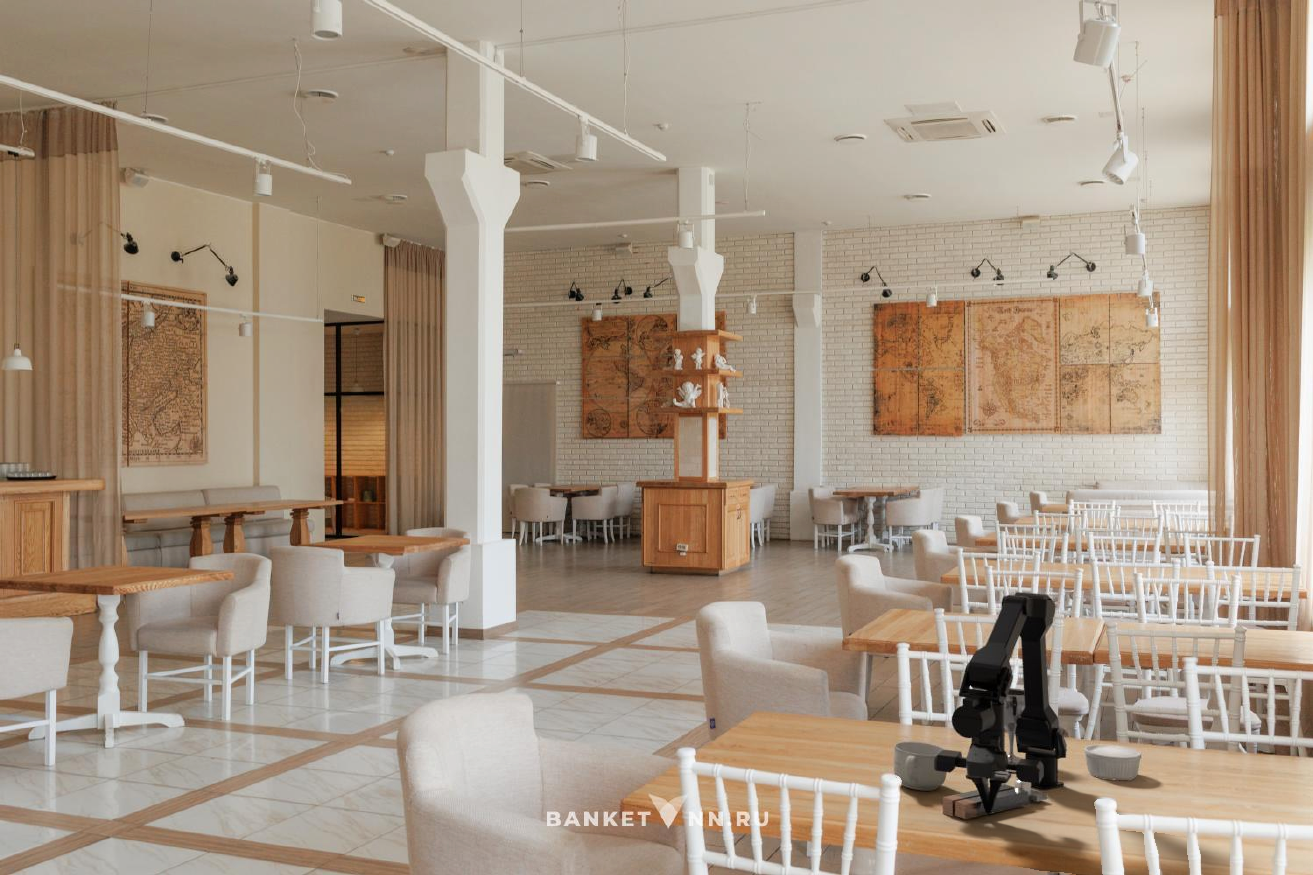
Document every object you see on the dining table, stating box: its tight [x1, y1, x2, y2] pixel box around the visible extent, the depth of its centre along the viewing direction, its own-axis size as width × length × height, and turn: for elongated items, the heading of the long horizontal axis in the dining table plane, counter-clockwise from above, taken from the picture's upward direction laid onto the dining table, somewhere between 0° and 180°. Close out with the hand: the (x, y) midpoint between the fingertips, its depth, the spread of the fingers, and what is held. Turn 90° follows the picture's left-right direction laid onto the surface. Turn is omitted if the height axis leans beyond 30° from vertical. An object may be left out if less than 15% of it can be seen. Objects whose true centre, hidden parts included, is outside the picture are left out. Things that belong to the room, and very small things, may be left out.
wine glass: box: [1004, 687, 1025, 764], centre depth 253 cm, size 8×8×15 cm
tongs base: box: [942, 778, 1048, 818], centre depth 218 cm, size 23×5×4 cm, turn 123°
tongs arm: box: [954, 788, 1029, 820], centre depth 215 cm, size 17×2×3 cm, turn 122°
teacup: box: [893, 741, 948, 792], centre depth 230 cm, size 14×11×8 cm
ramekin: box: [1083, 744, 1142, 781], centre depth 242 cm, size 11×11×5 cm
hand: (988, 812), depth 211 cm, fingers closed
